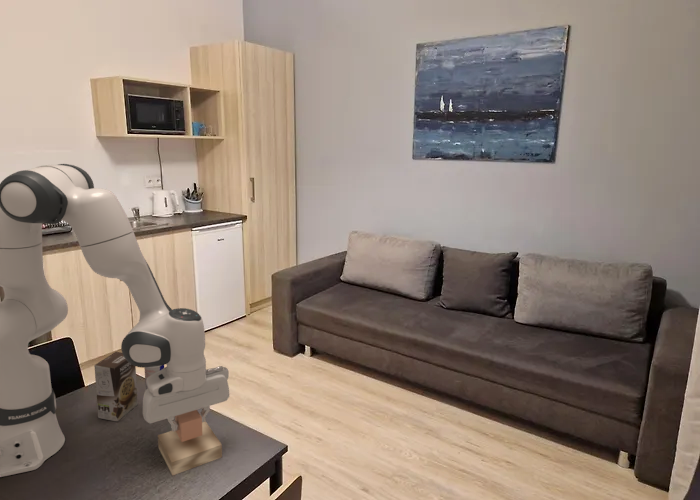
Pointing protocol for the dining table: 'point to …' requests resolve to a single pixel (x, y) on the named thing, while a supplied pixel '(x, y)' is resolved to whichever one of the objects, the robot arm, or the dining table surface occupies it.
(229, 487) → the dining table surface
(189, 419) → the terracotta cube
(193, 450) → the birch block
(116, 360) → the coffee box
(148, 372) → the beverage can
